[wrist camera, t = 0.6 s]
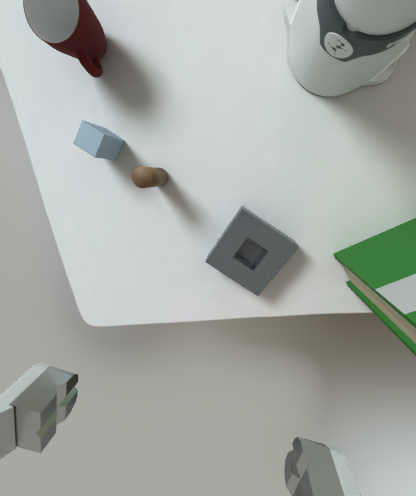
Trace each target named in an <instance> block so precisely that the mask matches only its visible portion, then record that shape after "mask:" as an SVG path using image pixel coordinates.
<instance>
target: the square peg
mask: <svg viewBox="0 0 416 496" xmlns="http://www.w3.org/2000/svg"><path fill="white" fill-rule="evenodd" d="M123 143H124V140H123V139H121V138H120V137H118V136H117V135H115V134H114V133H112V132H111V131H109V130H108V129H106V128H103V127H100V126H98V125H95V124H92V123H89V122H86V121H83V120H82V123H81V125H80V128H79V130H78V133H77V136H76V138H75V141H74V143H73V144H75V145H76V146H78V147H79V148H81V149H83V150H84V151H86V152H87V153H89V154H90V155H92V156H93V157H96V158H104V159H112V160H116V158H117V156H118V154H119V152H120V149H121V147H122V145H123Z"/></svg>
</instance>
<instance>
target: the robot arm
mask: <svg viewBox="0 0 416 496" xmlns="http://www.w3.org/2000/svg"><path fill="white" fill-rule="evenodd" d="M284 17H285V21H286V25H287V28H288V31H289V43H288V56H289V63H290V66H291V69H292V72H293V74H294V76H295V78H296V79H297V81H298V82H299V83H300V84H301V85H302V86H303V87H304V88H305V89H307V90H308V91H310V92H312V93H314V94H317V95H321V96H338V95H342V94H345V93H348V92H350V91H352V90H354V89H356V88H358V87H361V86H364V85H376V84H381V83H383V82H385V81H386V80H387V79H388V78H389V77H390V76H391V74H392V72H393V71H394V69H395V67H396V65H397V63H398V61H399V59H400V58H401V56H402V54H403V53H404V52H405V51H406V50H407V49H408V48H409V46H410V45H409V42H410V40H411V39H412V37H413V35H414V33H415V31H416V0H299V1H298V3H297V0H288V2H287V4H286V6H285V9H284ZM77 382H78V375H77V374H74V373H71V372H68V371H65V370H62V369H58V368H56V367H52V366H49V365H46V364H42V363H37V364H35V365H33V366H32V367H31V368H30V369H29V370H28V371H27V372H25V373H24V374H23V375H22V376H21V377H20V378H19V379H18V380H17V381H16V382H14V383H13V384H12V385H11V386H10V387H9V388H8V389H7V390H6V391H5V392H3V393H2V394H1V395H0V459H1V458H2V457H4V456H5V455H7V454H8V453H10V452H11V451H13V450H14V449H16V447H20V448H23V449H27V450H31V451H35V452H38V453H41V452H42V451H43V449H44V448H45V447H46V445H47V444H48V443H49V441H50V440H51V439H52V437H53V436H54V434H55V433H56V425H57V424H58V423H60V422H62V421H64V420H65V419H66V418H67V416H68V415H69V414H70V412H71V410H72V408H73V406H74V404H75V402H76V399H77V392H78V391H77V389H76V387H75V385H76V384H77ZM284 469H285V482H286V487H287V488H288V490H289V492H290V493H291V495H292V496H361V495H360V493H359V490H358V487H357V485H356V482H355V480H354V477H353V474H352V472H351V469H350V467H349V464H348V462H347V459H346V456H345V454H344V452H343V451H342V450H341V449H338V448H334V447H331V446H327V445H325V444H322V443H318V442H314V441H311V440H307V439H303V438H300V437H297V438H295V439H294V441H293V450H292V451H290V452H289V453H288V454H287V457H286V460H285V468H284Z"/></svg>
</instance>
